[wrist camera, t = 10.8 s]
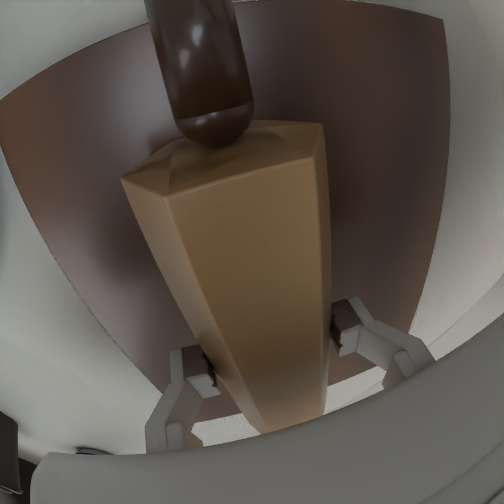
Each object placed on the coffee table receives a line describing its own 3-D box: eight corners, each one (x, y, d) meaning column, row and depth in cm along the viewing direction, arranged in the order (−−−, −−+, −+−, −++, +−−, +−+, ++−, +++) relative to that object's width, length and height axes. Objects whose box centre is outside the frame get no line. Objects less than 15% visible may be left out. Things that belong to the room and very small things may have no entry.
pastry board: (428, 19, 7) (443, 19, 7) (394, 346, 22) (399, 355, 21) (2, 104, 6) (-12, 109, 5) (192, 412, 20) (194, 423, 20)
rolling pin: (260, -38, 5) (322, -102, 1) (314, 401, 21) (332, 445, 17) (92, 1, 5) (27, -44, 1) (256, 419, 21) (269, 465, 17)
